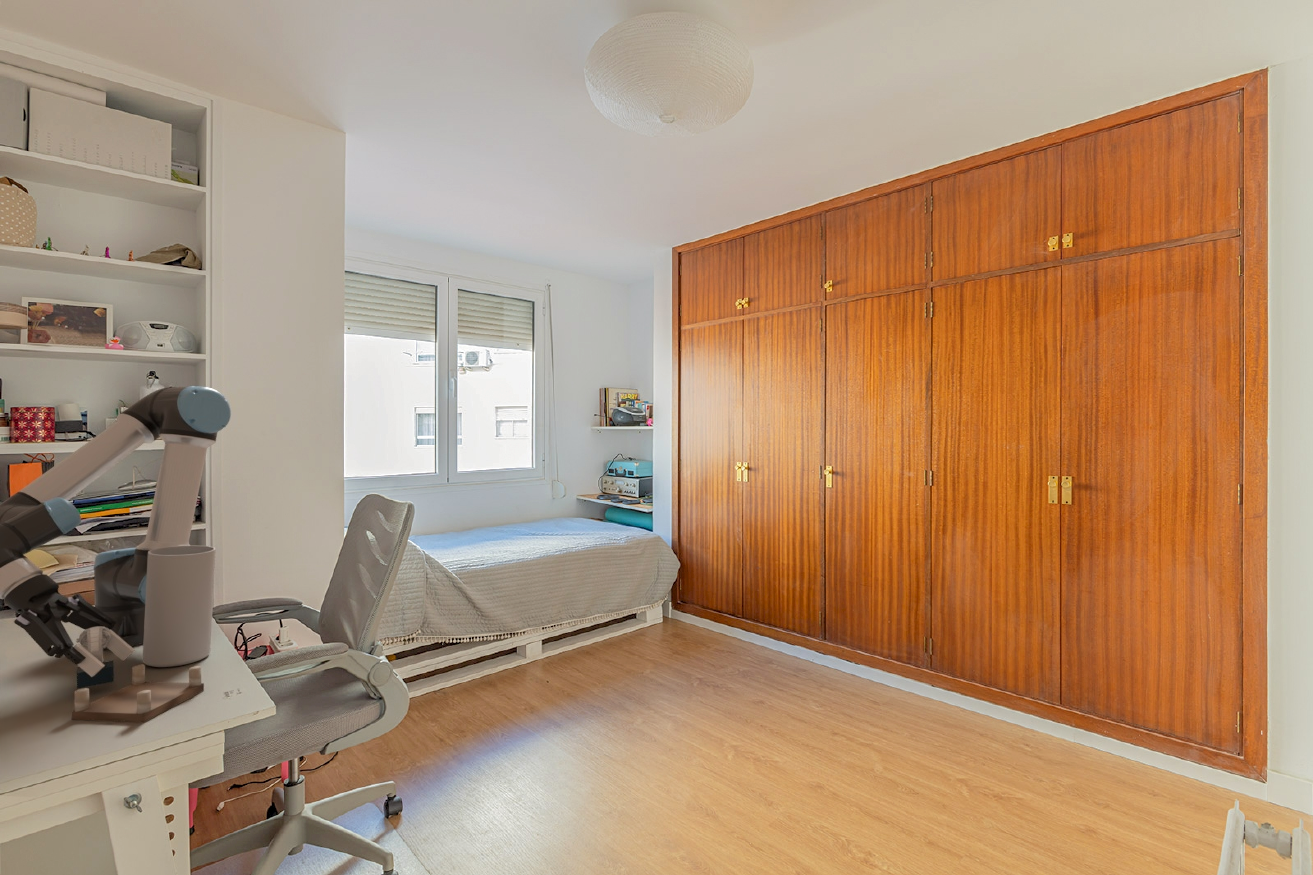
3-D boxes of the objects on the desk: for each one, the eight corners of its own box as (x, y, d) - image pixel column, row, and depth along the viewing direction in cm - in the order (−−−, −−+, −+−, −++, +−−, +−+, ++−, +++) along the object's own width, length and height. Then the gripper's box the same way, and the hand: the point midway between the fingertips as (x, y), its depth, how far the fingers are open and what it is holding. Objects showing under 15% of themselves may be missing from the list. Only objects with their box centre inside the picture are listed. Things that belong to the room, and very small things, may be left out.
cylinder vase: (138, 656, 146) (143, 548, 146) (203, 645, 155) (208, 543, 155) (147, 672, 137) (152, 557, 137) (215, 660, 146) (221, 552, 146)
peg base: (138, 688, 130) (138, 664, 130) (203, 690, 129) (203, 666, 129) (71, 719, 116) (71, 692, 116) (144, 722, 115) (144, 694, 115)
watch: (113, 672, 133) (112, 620, 133) (113, 684, 127) (112, 630, 127) (77, 679, 129) (76, 625, 129) (75, 692, 123) (74, 636, 123)
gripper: (52, 586, 136) (135, 657, 139) (-41, 616, 116) (58, 698, 118) (78, 561, 137) (161, 632, 139) (-10, 586, 116) (89, 669, 119)
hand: (114, 663), depth 129 cm, fingers closed on watch, 8 cm apart
